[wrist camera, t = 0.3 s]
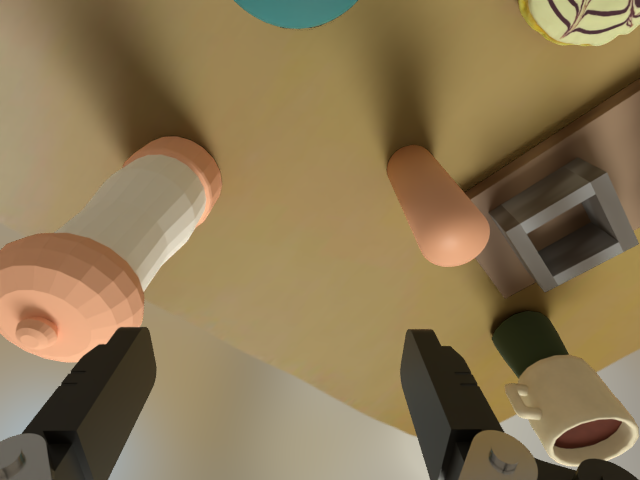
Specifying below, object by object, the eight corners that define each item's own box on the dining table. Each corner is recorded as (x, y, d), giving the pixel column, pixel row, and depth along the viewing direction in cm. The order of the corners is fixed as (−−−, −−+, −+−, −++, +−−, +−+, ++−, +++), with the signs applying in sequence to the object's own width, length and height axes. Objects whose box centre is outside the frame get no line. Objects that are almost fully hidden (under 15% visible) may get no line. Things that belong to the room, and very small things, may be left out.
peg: (418, 135, 30) (469, 192, 20) (442, 171, 32) (501, 242, 21) (377, 164, 31) (406, 233, 21) (403, 198, 33) (441, 277, 23)
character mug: (460, 345, 42) (510, 461, 31) (483, 298, 39) (550, 409, 28) (549, 356, 43) (629, 472, 32) (580, 310, 40) (682, 423, 28)
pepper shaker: (118, 161, 31) (-108, 314, 15) (186, 119, 29) (15, 240, 13) (174, 227, 34) (39, 414, 18) (238, 193, 33) (154, 365, 16)
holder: (678, 52, 27) (746, 57, 23) (714, 172, 32) (775, 196, 27) (440, 208, 33) (457, 236, 29) (498, 289, 38) (521, 323, 34)
